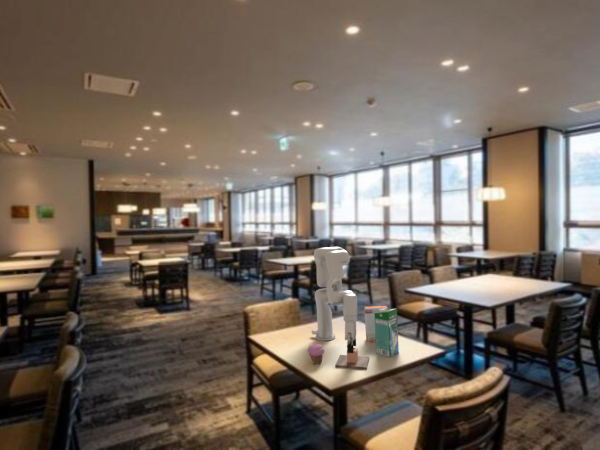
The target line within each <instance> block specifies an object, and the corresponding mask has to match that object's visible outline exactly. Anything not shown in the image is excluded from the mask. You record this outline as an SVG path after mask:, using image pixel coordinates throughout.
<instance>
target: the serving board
mask: <svg viewBox="0 0 600 450" xmlns="http://www.w3.org/2000/svg"><path fill="white" fill-rule="evenodd" d="M369 361H370V356H365V355H364V356H363V355H358V361H357V363H351V362H347V354H340V355H339V356H338V358H337V360H336V362H335V365H334V367H335V368H341V369H353V370H367V369H368V366H369Z"/></svg>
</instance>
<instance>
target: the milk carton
mask: <svg viewBox="0 0 600 450" xmlns="http://www.w3.org/2000/svg"><path fill="white" fill-rule="evenodd" d="M374 315H375V337H376V342H375V354H377V355H381V356H384V357H388V358H391V357H393V356H395V355H397V354H398V353H400V352H399V349H400V348H399V329H398V308H388V310H386V308H384V309H380V310H379V312H377V313H374Z"/></svg>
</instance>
